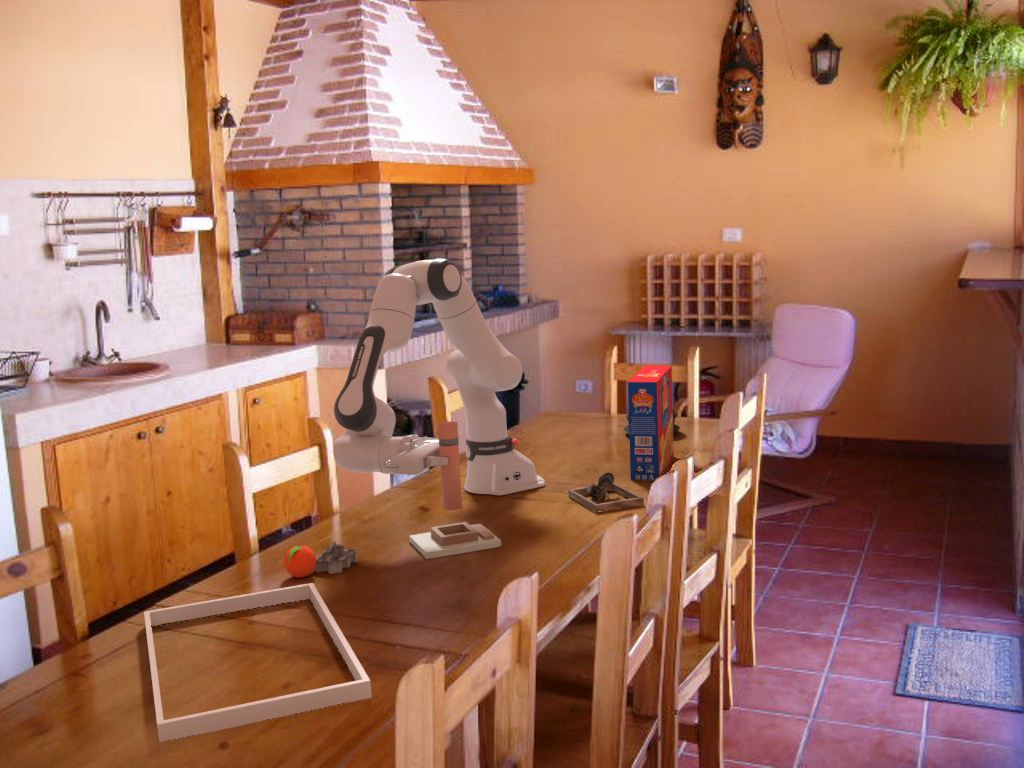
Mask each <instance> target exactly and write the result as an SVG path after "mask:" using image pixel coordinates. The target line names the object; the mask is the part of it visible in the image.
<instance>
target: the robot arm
mask: <svg viewBox="0 0 1024 768" xmlns="http://www.w3.org/2000/svg"><path fill="white" fill-rule="evenodd" d="M429 303H430V304H431V303H432V306H433V308H434V311H435V313H436V316H437V318H438V320H439V322H440V325H441V328H442V329H443V331H444V333H445V336H446V338H447V340H448V341H449V343H450V344H451V345H453V346H454V347H455V348H456V349H455V350H453V351H452V352H451V353H450V354H449V356H448V358H447V360H446V364H445V365H446V374H447V375H448V377H449V378H450V380H451V381H452V382H453V383H454V385H455V386H456V389H457V391H458V393H459V396H460V398H461V402H462V405H463V407H464V408H463V409H464V413H465V424H466V437H467V438H465V456H466V459H467V468H466V469H467V470H466V478H465V483H464V487H463V488H464V489H463V490H465V491H466V492H469V493H471V494H476V495H477V494H478V495H480V494H481V495H493V496H504V495H505V496H506V495H509V494H513V493H519V492H523V491H528V490H533V489H537V488H541V487H544V486H545V485H546V481H545V479H544V478H543V477H541V476H540V475H538V474H537V470H536V467H535V464H534V462H533V461H532V460H531V459H529V458H528V457H527V456H525V455H524V454H522V453H521V452H520V451H518V450H516V449H515V448H514V447H516V448H517V447H519V445H520V444H521V441H520V440H519V439H517V438H513V437H511V436H508V429H507V427H508V426H507V410H506V408H505V406H504V405H503V404H502V402H501V401H500V400H499V399H498V397H497V395H496V392H505V391H509V390H513V389H515V388H516V387H517V386H518V385H519V383H520V382H521V380H522V378H523V377H522V376H523V367H522V362H521V361H520V360H519V358H518V357H517V356H515V355H514V354H513V353H511V352H510V351H509V350H508V349H506V347H505V346H504V345H503V344H502V342H501V341H500V340H499V339H498V338H497V336H496V335H495V334H494V332H493V331H492V330H491V328H490V327H489V325H488V323H487V321H486V320H485V317H484V316H483V313H482V311H481V309H480V306H479V304H478V302H477V299H476V297H475V296H474V293H473V291H472V289H471V288H470V286H469V284H468V282H467V281H466V279H465V278H464V276H463V275H462V273H461V271H460V269H459V267H458V266H457V264H456V263H454V262H453V261H452V260H450V259H447V258H435V259H423V260H417V261H414V262H409V263H406V264H398V265H396V266H393V267H391V268H390V269H388V270H387V271H386V273H385V275H384V276H383V277H381V279H380V280H379V282H378V284H377V286H376V290H375V293H374V296H373V298H372V302H371V306H370V308H369V309H370V311H369V315H368V320H367V323H366V326H365V329H363V331H362V333H361V335H360V337H359V339H358V342H357V344H356V348H355V351H354V353H353V354H354V355H353V358H352V362H351V364H350V368H349V372H348V375H347V378H346V381H345V383H344V386H343V387H342V389H341V390H340V392H339V393H338V395H337V398H336V400H335V402H334V406H333V412H334V414H333V415H334V417H335V421H337V423H338V424H339V426H341V427H342V428H344V429H345V430H344V432H343V433H342V434H341V435H340V436H339V437H337V438H336V439H335V440H334V442H333V447H332V448H333V449H332V452H333V453H332V454H333V458H334V460H335V463H336V464H337V465H338V467H340V468H341V469H342V470H345V471H347V472H351V473H362V474H363V473H365V474H372V473H376V472H377V473H381V474H384V475H385V474H386V475H403V476H405V475H408V476H409V475H410V476H415V475H420V474H421V473H422V472H424V471H426V470H427V469H429V468H430V467H436V466H437V467H438V466H441V465H447V464H449V463H450V460H449V459H450V458H449V457H448V456H441V457H440V447H439V437H438V438H437V437H426V436H425V437H423V436H421V437H419V435H418V434H407V435H404V436H400V435H399V436H398V435H397V436H394V432H395V427H396V424H397V422H396V421H397V416H396V413H395V411H394V409H393V408H392V406H390V405H389V404H388V403H386V402H385V401H383V400H381V398H378V397H377V396H376V395H375V392H374V383H375V380H376V377H377V373H378V371H379V366H380V362H381V359H382V358H383V356H384V355H385V354H387V353H394V352H397V351H400V350H403V348H405V347H406V346H407V345H408V343H409V340H410V339H411V337H412V333H413V329H414V323H415V319H416V318H415V317H416V310H417V309H416V307H417V306H421V305H427V304H429Z"/></svg>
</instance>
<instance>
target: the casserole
mask: <svg viewBox="0 0 1024 768" xmlns="http://www.w3.org/2000/svg"><path fill="white" fill-rule="evenodd" d="M677 417H678V414H677V413H676V412H675V408H673V433H677V432H678V431H679V430H680V429H681V427H680V426H679V425H678V424H677V423H675V421H676V418H677ZM625 418H626V419H627V421H628V424H627V425H625V426H624V427H623V431H624V432H626V433H627V434H628V435H629V409H628V411H627V414H626V415H625Z"/></svg>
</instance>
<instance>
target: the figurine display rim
mask: <svg viewBox="0 0 1024 768" xmlns="http://www.w3.org/2000/svg"><path fill="white" fill-rule="evenodd" d="M610 486H611V488H610V490H609V491H611V492H614V491H615V492H614V493H616V492H617V493H616V494H618V493H619V494H618V495H620V494H621V495H620V496H622V495H623V496H625V497H627V498H628V499H627V498H625V497H624V498H625V499H621V500H616V501H608V502H602V503H597V502H594V501H593V500H590V499H588V498H587V497H585V496H589V495H588V494H591V495H593V494H592V493H590V492H587V490H586V489H587V487H588V486H584V487H578V488H577V487H576V488H573V489H568V492H567V493H568V498H569V497H570V498H569V499H571V498H572V499H571V500H573V499H574V500H575V501H574V500H573V501H574V502H576V501H577V502H576V503H578V502H579V503H580V505H581V504H582V506H583V505H584V506H583V507H585V506H586V507H587V508H586V507H585V508H586V509H588V508H589V509H588V510H590V509H591V510H593V511H595V512H598V511H605V510H612V511H614V510H613V509H618V508H624V509H627V508H626V507H630V508H633V507H632V506H636V507H640V506H639V505H642V506H644V503H645V502H644V500H645V499H644V497H642V495H638V494H637V493H635V492H633V491H631V490H629V489H627V488H626V487H623V486H621V484H617V483H615V482H614V483H613V484H611V485H609V486H608V487H606V488H605V490H606V489H608V488H609V487H610ZM582 495H585V496H582ZM623 496H622V497H623ZM579 503H578V504H579ZM591 510H590V511H591ZM618 510H619V509H618ZM593 511H592V512H593ZM595 512H594V513H595ZM605 512H606V511H605Z"/></svg>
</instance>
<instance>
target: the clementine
mask: <svg viewBox="0 0 1024 768" xmlns="http://www.w3.org/2000/svg"><path fill="white" fill-rule="evenodd" d="M316 557H317V556H316V554H315V551H314V550H313V549H312V548H310V547H308V546H306V545H301V544H299V545H295V546H293V547H291V548H290V549H289V550H288V551H287V552H286V554H285V556H284V560H283V561H284V562H283V565H284V568H285V570H286V572H287V573H288V575H290V576H292V577H295V578H299V579H301V578H305V577H308V576H309V575H311V574H312V573H313V572H314V571H315V570H314V569H315V566H316V561H317V560H316Z"/></svg>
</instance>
